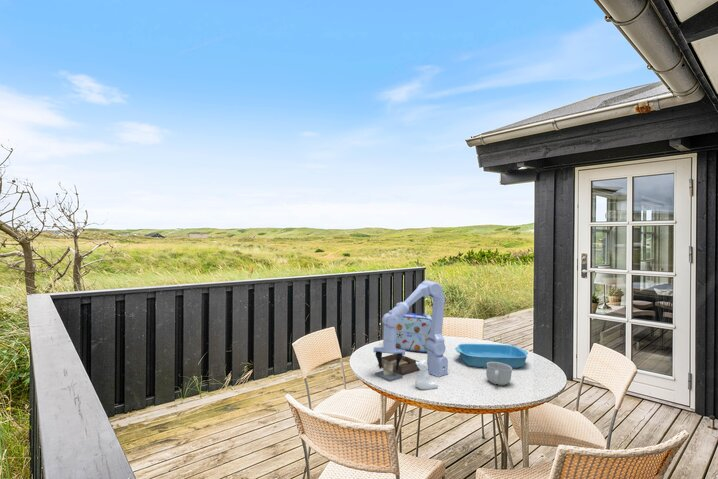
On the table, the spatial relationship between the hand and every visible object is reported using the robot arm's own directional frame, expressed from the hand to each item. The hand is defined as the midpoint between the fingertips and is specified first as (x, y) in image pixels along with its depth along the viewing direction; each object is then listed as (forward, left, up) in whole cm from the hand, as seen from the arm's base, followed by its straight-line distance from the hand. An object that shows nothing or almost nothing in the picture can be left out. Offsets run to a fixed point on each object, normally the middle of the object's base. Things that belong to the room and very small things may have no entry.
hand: (388, 369), depth 172 cm
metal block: (0, 0, -2) cm, 2 cm away
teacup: (-35, -34, -4) cm, 49 cm away
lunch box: (+22, -40, -4) cm, 46 cm away
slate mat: (0, 0, -3) cm, 3 cm away
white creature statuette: (-18, -4, -4) cm, 19 cm away
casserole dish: (-17, -58, -4) cm, 61 cm away
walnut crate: (+5, -12, -3) cm, 13 cm away
